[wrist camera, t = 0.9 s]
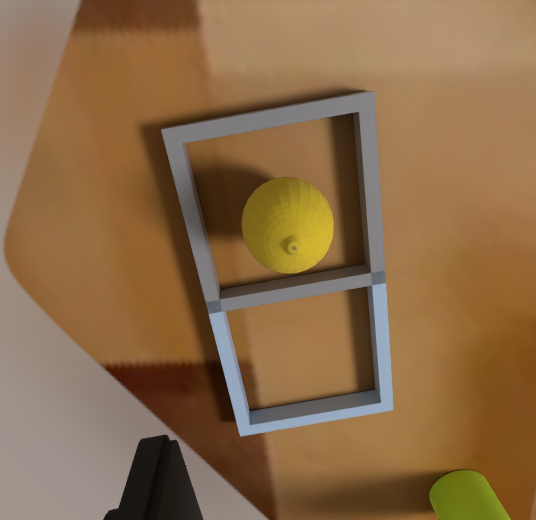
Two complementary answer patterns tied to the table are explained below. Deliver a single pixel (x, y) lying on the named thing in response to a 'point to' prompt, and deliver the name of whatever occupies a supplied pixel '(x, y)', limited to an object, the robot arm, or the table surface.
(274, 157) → the table surface
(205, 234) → the grey divided frame
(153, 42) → the table surface
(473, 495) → the soap dispenser
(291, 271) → the lemon
